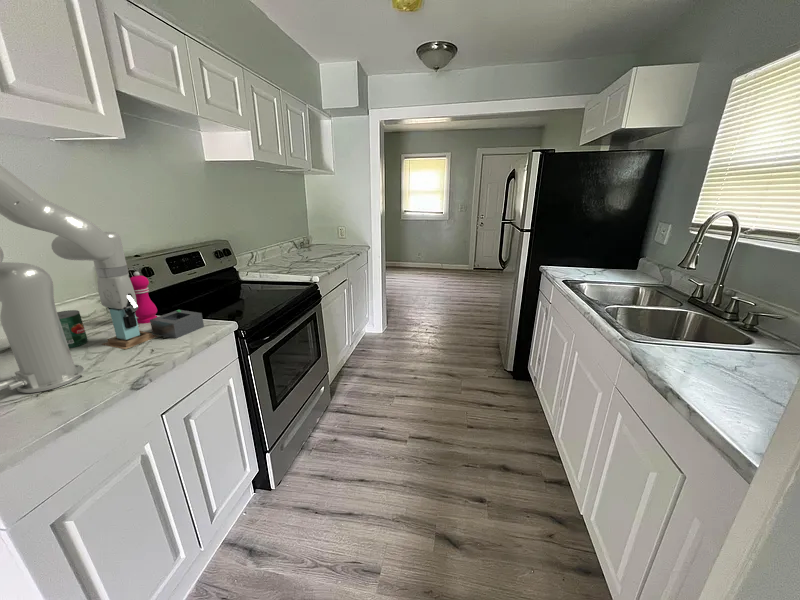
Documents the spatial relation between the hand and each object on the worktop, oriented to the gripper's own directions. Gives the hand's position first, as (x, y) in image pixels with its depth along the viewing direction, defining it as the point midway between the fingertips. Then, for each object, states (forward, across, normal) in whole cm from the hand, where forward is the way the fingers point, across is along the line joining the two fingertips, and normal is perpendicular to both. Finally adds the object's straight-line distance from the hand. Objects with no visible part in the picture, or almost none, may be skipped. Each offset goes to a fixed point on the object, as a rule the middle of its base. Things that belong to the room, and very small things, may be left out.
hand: (126, 325), depth 107 cm
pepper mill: (+6, -13, +15) cm, 20 cm away
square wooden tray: (+6, 0, 0) cm, 6 cm away
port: (+6, +7, +12) cm, 15 cm away
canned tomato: (+6, -15, -8) cm, 18 cm away
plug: (+4, 0, 0) cm, 4 cm away
